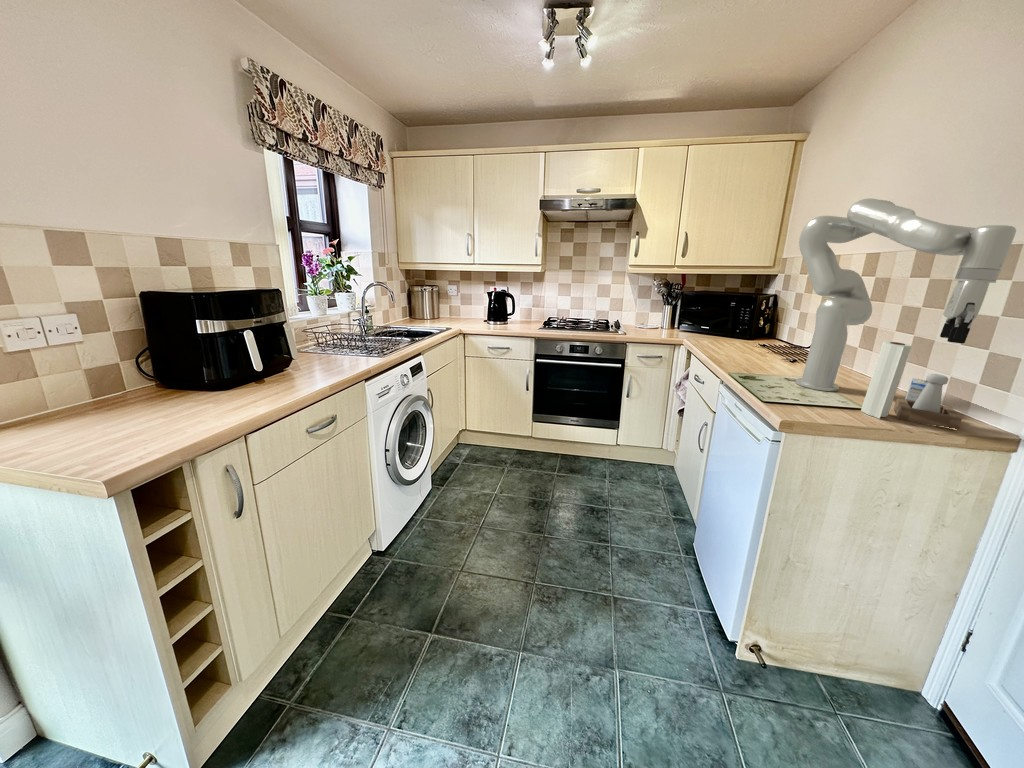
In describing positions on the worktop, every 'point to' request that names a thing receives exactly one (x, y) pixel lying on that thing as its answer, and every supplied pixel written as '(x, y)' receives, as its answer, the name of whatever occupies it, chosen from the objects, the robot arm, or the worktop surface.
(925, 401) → the salt shaker
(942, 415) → the holder
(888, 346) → the paper towel roll
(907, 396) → the medicine box
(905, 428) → the worktop surface
